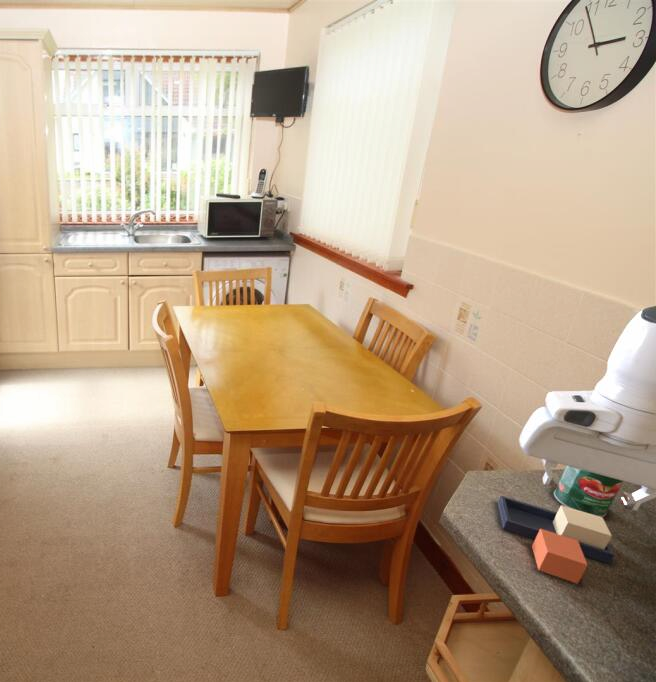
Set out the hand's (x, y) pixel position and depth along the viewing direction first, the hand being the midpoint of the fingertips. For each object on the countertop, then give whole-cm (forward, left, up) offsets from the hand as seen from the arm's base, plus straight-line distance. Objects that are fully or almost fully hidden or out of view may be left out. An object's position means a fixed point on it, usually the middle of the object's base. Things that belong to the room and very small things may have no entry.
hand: (587, 495), depth 72 cm
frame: (-1, -9, -14) cm, 17 cm away
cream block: (-5, -9, -14) cm, 17 cm away
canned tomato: (-8, -22, -14) cm, 27 cm away
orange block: (0, 0, -14) cm, 14 cm away
